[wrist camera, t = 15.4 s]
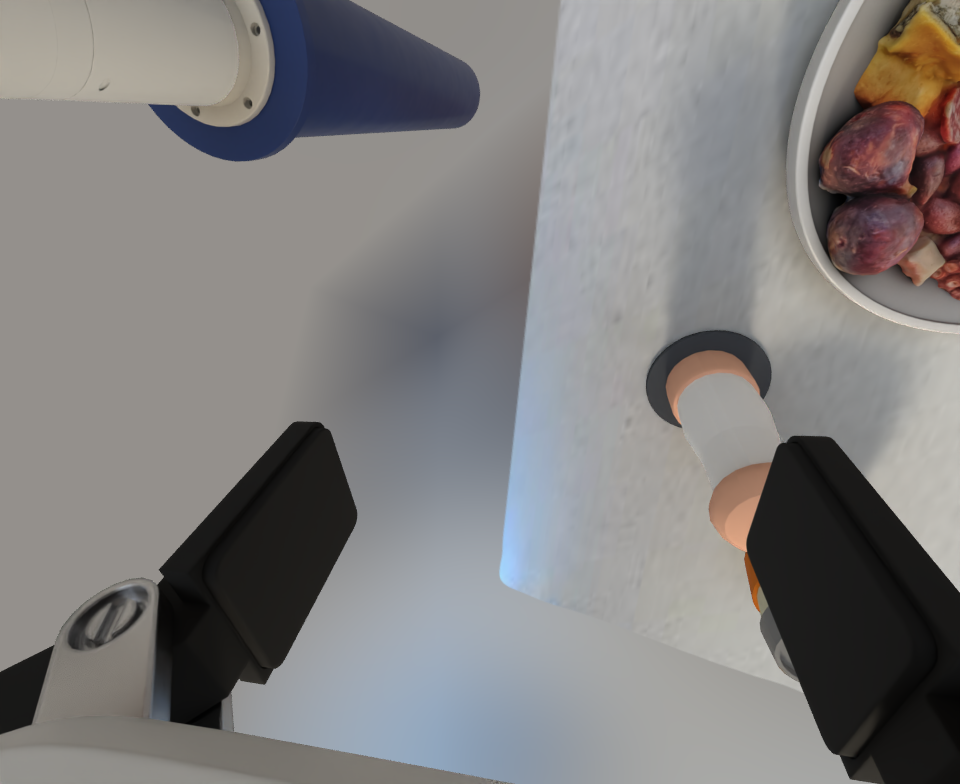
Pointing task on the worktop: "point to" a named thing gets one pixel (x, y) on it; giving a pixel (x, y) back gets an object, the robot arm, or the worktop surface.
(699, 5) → the worktop surface
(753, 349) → the coaster
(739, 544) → the salt shaker
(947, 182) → the bowl
